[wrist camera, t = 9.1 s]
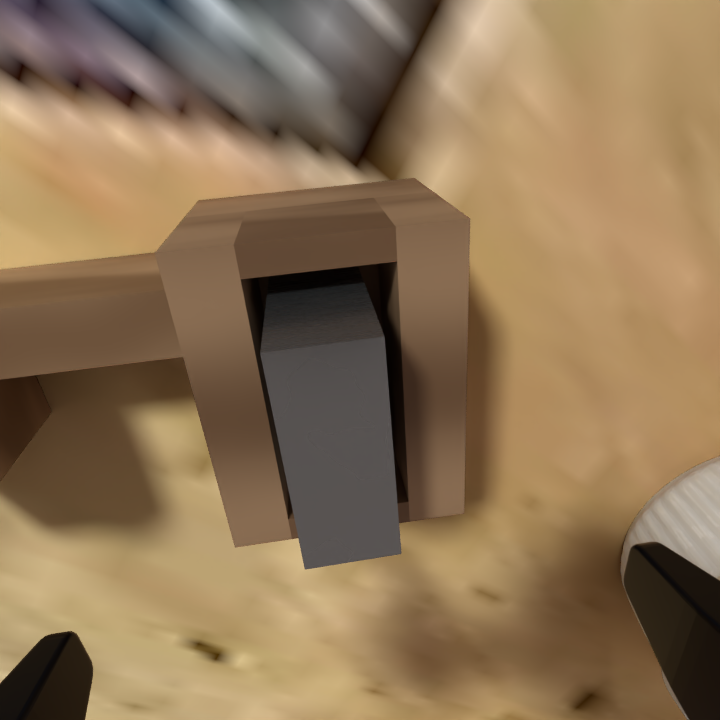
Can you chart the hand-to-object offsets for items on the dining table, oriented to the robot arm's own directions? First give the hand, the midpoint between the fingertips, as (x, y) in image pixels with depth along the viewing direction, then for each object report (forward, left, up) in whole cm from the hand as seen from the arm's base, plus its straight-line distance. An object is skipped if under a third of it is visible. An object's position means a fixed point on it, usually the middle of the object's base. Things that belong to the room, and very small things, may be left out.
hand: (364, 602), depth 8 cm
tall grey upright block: (0, 0, -9) cm, 9 cm away
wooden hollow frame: (0, +6, -12) cm, 13 cm away
